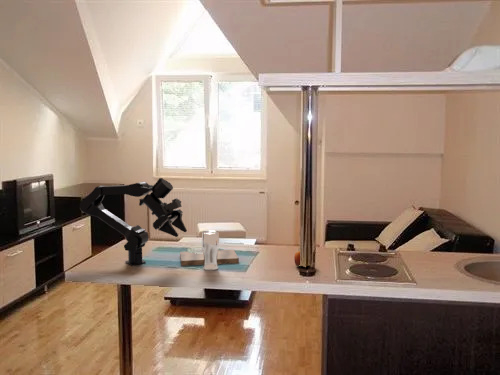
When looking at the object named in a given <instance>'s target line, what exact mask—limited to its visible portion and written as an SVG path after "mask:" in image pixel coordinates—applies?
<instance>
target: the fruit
mask: <svg viewBox="0 0 500 375" xmlns="http://www.w3.org/2000/svg"><path fill="white" fill-rule="evenodd" d="M300 251H301V250H299V251H295V253H294V257H293V258H294V259H293V260H294V264H295V266H296V268H300V267H299V265H300Z"/></svg>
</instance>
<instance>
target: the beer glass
mask: <svg viewBox="0 0 500 375" xmlns="http://www.w3.org/2000/svg"><path fill="white" fill-rule="evenodd" d="M201 233H202V234H201V250H202V251H203V255H204V264H203V265H202V266H203V267H202V269H203V270H205V271H215V270H218V269H219V264H218V263H217V256H218V250H220V235H219V234H220V233H219V231H218V230H203V231H202V232H201Z"/></svg>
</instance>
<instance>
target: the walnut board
mask: <svg viewBox="0 0 500 375" xmlns="http://www.w3.org/2000/svg"><path fill="white" fill-rule="evenodd" d="M179 255H180V256H179V258H180V265H181V266H198V265H199V266H200V265H202V266H203V265H204V255H203V254H197V253H196V254H195V253H189V251H179ZM217 263H218V265H220V264H239V263H240V258H239V256H238V255H237V253H236V251H235V249H219V250H218V256H217Z"/></svg>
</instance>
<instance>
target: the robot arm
mask: <svg viewBox="0 0 500 375" xmlns="http://www.w3.org/2000/svg"><path fill="white" fill-rule="evenodd" d="M173 189H174V186H173V185H172V183H171V182H170V181H167V180H166V179H164V178H163V177H159V178H158V179H157V181H156V182H155V183H154V184H153V185H152V184H149V183H148V182H147V181H140V182H135V183H131V184H122V185H121V184H120V185H119V184H118V185H116V184H115V185H99V186H95V188H94V189H93V190H92V191H91V192H90V193H89V194H88V195H87V196H85V198H84V199H82V200H81V201H80V203H79V210H80V211H81V212H82V213H85V214H87V215H89V216H91V217H92V216H93V217H97V218H98V219H100V220H101V221H102V222H104V223H105V224H107V225H108V226H109V227H111V228H113V229H114V230H116V231H117V232H118V233H119V234H122V235H123V236H124V238H125V241H126V243H125V244H123V248H124V250H125V251H127V256H128V257H127V259H128V260H124V261H125V263H126V264H128V265H130V266H136V265H142V264H146V263H147V262H146V261H145V260H143V248H144V247H145V246H146V244H147V243H148V242H149V238H150V237H149V233H148V232H147V231H146V229H145V228H143V227H141V226H140V225H139V224H138V225H135V226H132V225H130V224H128V223H127V222H125V221H124V220H123V219H121V218H119V217H118V216H116V215H115V214H113V213H112V212H110V211H109V210H108V209H106V208H105V206H104V205H103V203H102V202H103V200H104V198H105V196H110V195H111V196H113V195H115V196H116V195H127V196H130V197H136V198H139V197H143V196H144V197H143V198H140V199H139V204H138V205H139V206H140V207H141V206H144V205H145V206H146V207H147V208H148V209H149V210H150V211H151V215H152V216H156V220H155V221H153V223H152V227H153V229H154V230H156V231H157V230H158V231H160V232H163V233H166V234H168V235H171V236H173V237H175V238H178V236H179V233H178V232H177V230H176V229H178V230H180V231H182V232H184V233H186V232H187V231H188V230H187V227H186V226H185V224H184V222H183V220H182V218H183V211H182V210H181V209H179V208H181V207H182V201H181V200H180V199H179V198H177V197H176V198H174V199H172V200H171V201H172V202H171V201H170V202H169V203H167V202H163V201H162V200H161V199H165V198H166V197H167V196H168V195H169V194H170V192H172V191H173ZM173 226H174V227H175V228H176V229H175V228H174V227H173Z"/></svg>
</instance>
